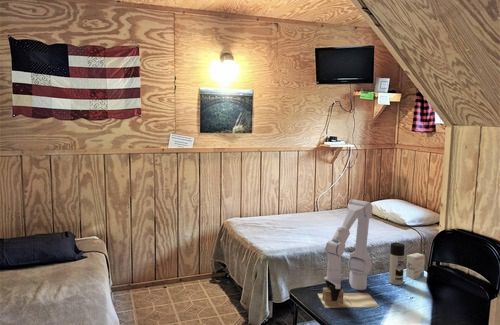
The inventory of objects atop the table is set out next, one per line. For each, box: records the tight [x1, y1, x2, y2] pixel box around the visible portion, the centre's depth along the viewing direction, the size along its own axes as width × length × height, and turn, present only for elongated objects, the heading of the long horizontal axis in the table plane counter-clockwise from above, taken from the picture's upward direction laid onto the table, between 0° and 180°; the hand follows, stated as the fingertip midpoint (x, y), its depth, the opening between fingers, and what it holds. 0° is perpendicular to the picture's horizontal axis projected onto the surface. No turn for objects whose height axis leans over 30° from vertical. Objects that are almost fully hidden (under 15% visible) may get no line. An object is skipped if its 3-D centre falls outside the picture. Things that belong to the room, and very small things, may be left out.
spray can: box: [388, 241, 406, 286], centre depth 201 cm, size 7×7×20 cm
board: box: [317, 292, 381, 309], centre depth 178 cm, size 14×24×2 cm, turn 94°
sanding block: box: [322, 287, 345, 303], centre depth 176 cm, size 4×8×5 cm, turn 94°
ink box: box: [405, 252, 426, 280], centre depth 211 cm, size 9×5×12 cm, turn 119°
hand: (332, 298), depth 176 cm, fingers closed on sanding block, 4 cm apart
